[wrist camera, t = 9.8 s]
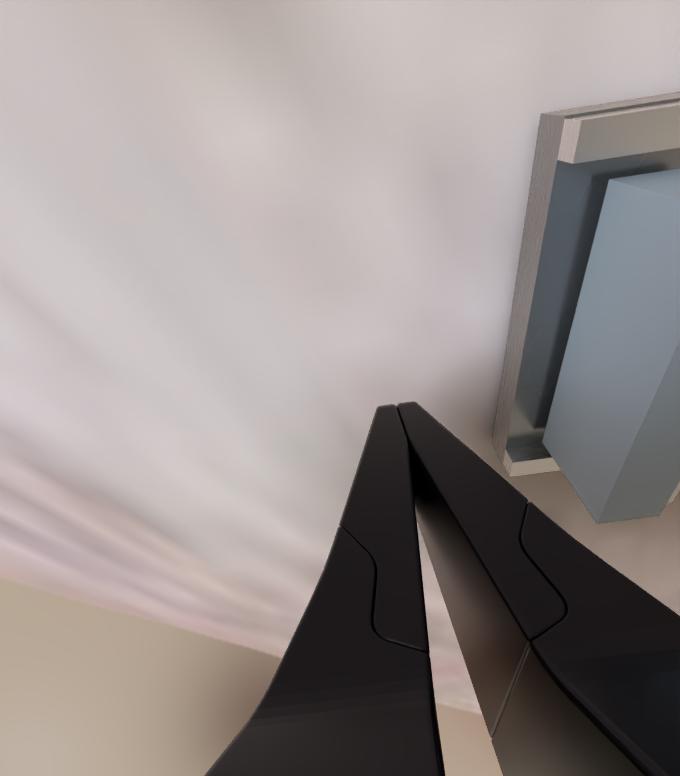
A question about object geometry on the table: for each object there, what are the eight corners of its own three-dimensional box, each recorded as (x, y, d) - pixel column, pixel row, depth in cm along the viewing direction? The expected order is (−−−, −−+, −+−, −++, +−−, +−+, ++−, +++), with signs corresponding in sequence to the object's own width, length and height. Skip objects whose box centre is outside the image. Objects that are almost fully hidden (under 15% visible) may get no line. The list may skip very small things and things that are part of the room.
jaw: (708, 164, 8) (879, 194, 6) (604, 433, 13) (674, 513, 10) (608, 179, 8) (736, 214, 6) (542, 442, 13) (596, 523, 10)
